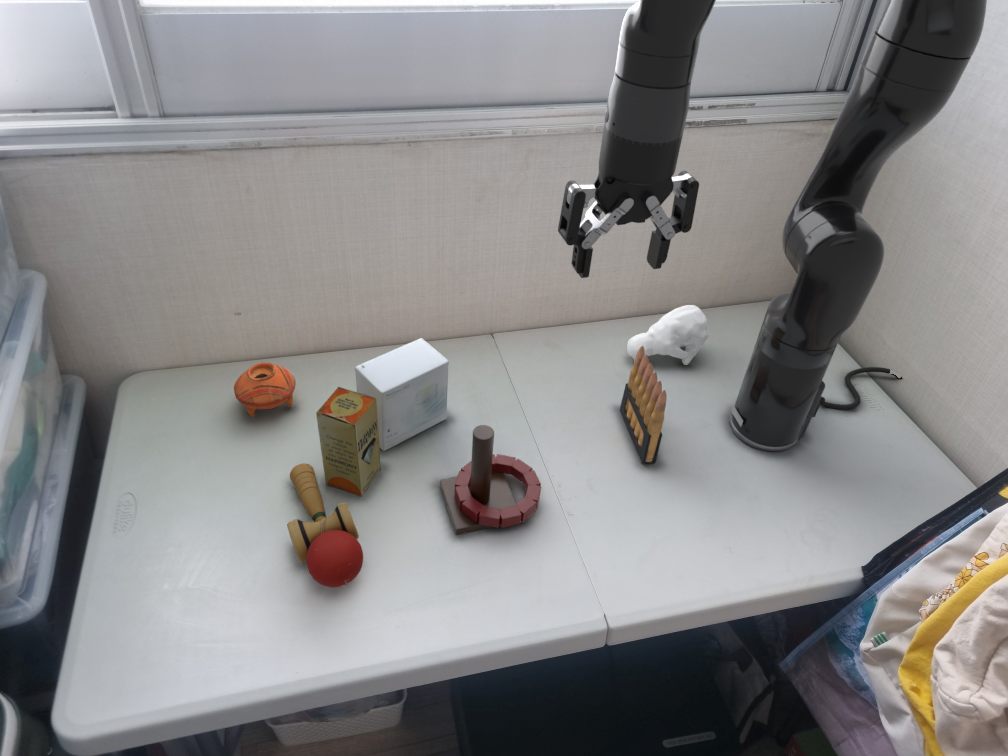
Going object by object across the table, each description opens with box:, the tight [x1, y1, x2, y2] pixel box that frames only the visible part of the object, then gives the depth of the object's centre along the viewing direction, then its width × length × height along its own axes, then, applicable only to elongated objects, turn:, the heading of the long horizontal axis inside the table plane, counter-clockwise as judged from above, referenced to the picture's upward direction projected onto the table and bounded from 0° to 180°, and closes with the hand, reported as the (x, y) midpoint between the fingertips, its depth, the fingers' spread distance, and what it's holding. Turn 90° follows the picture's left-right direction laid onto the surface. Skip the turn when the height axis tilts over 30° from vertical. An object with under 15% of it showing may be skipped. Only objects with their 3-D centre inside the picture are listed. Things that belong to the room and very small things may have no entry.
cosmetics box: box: [354, 337, 450, 452], centre depth 100 cm, size 10×6×10 cm, turn 131°
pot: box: [233, 362, 296, 417], centre depth 103 cm, size 8×8×7 cm
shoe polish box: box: [315, 386, 382, 498], centre depth 92 cm, size 5×5×12 cm
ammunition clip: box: [619, 346, 667, 465], centre depth 100 cm, size 11×2×12 cm, turn 10°
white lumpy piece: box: [626, 304, 709, 366], centre depth 115 cm, size 6×8×12 cm
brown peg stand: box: [439, 424, 517, 536], centre depth 90 cm, size 8×8×12 cm
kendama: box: [286, 463, 364, 588], centre depth 87 cm, size 8×6×18 cm
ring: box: [455, 453, 542, 529], centre depth 93 cm, size 10×10×2 cm
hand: (618, 269), depth 83 cm, fingers open, 8 cm apart
